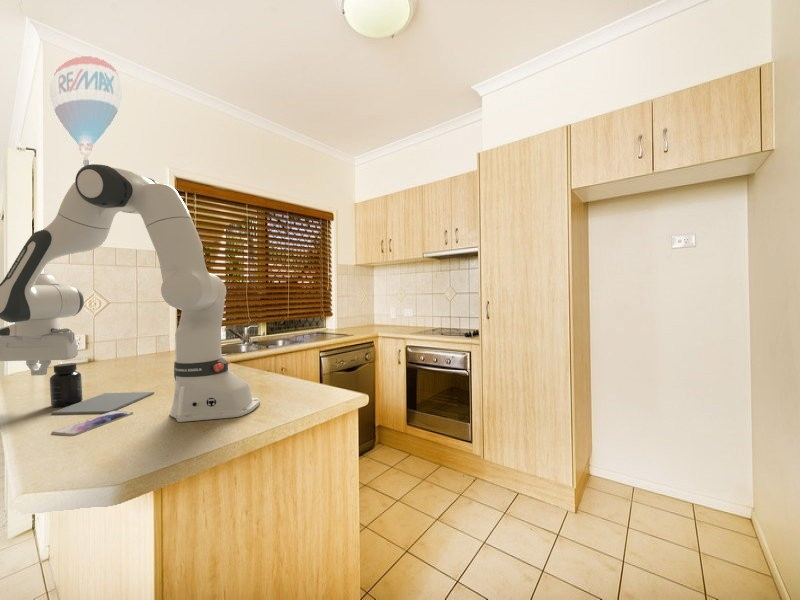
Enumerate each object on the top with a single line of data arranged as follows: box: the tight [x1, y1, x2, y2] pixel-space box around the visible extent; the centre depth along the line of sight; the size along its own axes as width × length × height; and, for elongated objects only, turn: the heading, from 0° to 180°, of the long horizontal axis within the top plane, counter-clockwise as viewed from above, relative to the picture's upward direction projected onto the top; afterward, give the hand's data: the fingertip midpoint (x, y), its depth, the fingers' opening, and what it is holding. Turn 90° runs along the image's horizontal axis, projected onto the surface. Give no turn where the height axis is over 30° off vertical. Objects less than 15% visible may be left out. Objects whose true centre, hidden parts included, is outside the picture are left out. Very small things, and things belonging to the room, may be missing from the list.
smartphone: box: [51, 410, 134, 437], centre depth 87 cm, size 7×1×15 cm
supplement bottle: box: [49, 362, 84, 409], centre depth 102 cm, size 7×7×12 cm
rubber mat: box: [50, 391, 155, 416], centre depth 102 cm, size 16×18×1 cm
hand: (39, 375), depth 101 cm, fingers closed
